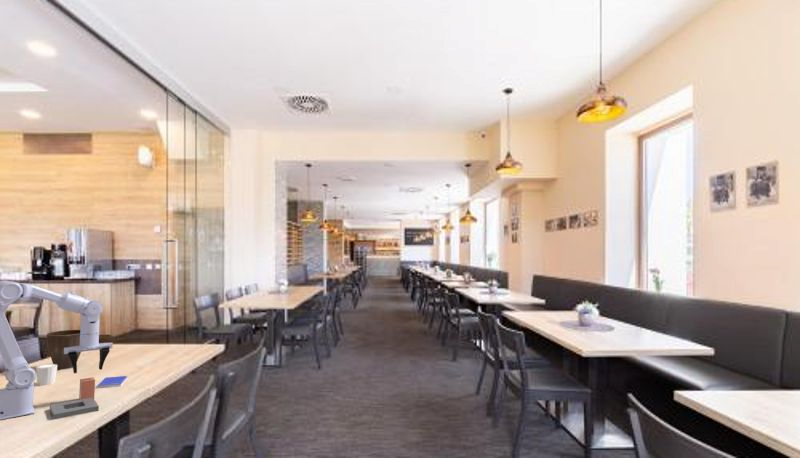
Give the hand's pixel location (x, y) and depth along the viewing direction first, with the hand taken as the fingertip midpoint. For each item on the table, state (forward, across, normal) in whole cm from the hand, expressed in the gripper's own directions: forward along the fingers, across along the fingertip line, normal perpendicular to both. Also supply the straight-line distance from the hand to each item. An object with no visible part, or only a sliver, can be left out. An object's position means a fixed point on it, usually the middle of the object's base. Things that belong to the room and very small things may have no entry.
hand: (88, 370), depth 163 cm
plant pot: (+10, 0, +60) cm, 61 cm away
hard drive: (+11, +11, +17) cm, 23 cm away
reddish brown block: (+10, 0, 0) cm, 10 cm away
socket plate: (+10, -5, -11) cm, 16 cm away
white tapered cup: (+10, -9, +34) cm, 37 cm away
